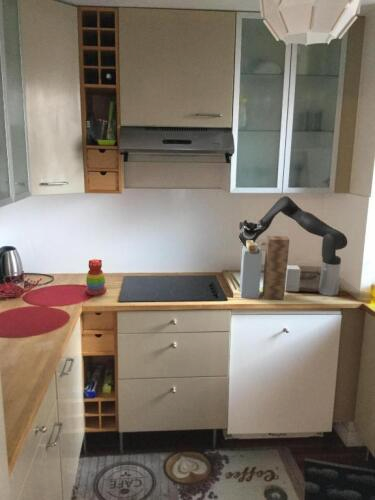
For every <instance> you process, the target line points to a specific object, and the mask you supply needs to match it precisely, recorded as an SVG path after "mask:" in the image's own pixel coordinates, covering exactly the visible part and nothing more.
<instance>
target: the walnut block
mask: <svg viewBox="0 0 375 500" xmlns="http://www.w3.org/2000/svg"><path fill="white" fill-rule="evenodd" d="M265 242H266V244H265V255H264V256H265V257H264V267H263V268H264V269H263V281H262V292H261V293H262V294H263V295H262V294H261V295H262V298H263V300H265V301H285V292H286V291H285V282H286V272H287V265H288V259H289V250H290V238H288V236H284V235H283V236H282V235H279V236H278V235H266V241H265Z"/></svg>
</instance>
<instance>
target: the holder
mask: <svg viewBox="0 0 375 500" xmlns="http://www.w3.org/2000/svg"><path fill="white" fill-rule="evenodd" d="M262 260H263V253H262V250H261V248H260V246H258V247H257V254H248V252H247V248H246V247H245V246H244V245H242V248H241V261H240V262H241V264H240V275H239V276H240V277H239V293H240V292H241V294H240V297H241V298H243V299H244V298H245V299H259V298H260V287H261V286H260V285H261V275H262V274H261V273H262V263H263V262H262Z"/></svg>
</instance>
